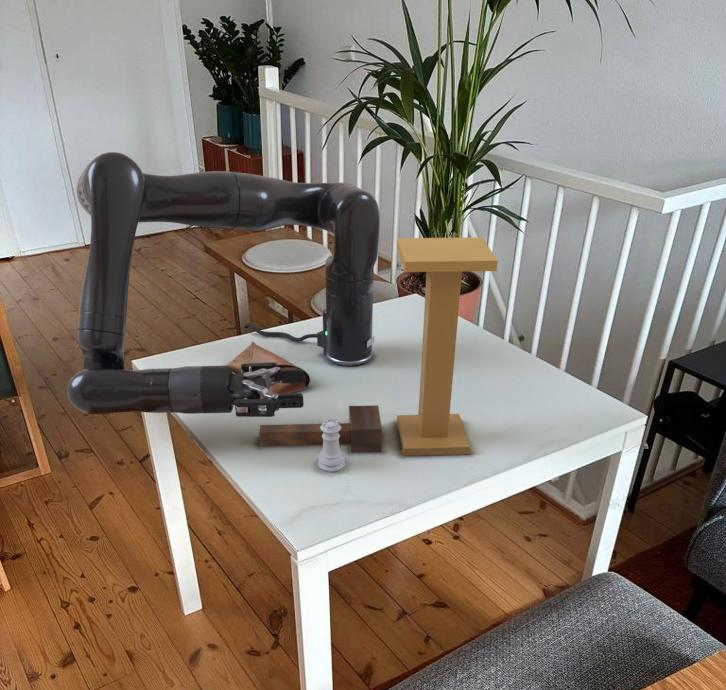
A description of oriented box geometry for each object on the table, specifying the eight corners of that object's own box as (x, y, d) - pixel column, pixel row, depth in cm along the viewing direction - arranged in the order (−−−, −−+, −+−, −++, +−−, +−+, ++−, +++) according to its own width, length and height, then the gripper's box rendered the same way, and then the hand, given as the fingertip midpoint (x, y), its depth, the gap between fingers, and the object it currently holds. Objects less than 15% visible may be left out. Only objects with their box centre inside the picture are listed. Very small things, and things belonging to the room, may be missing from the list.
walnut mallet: (377, 427, 127) (378, 405, 125) (381, 452, 121) (381, 428, 118) (261, 430, 126) (260, 407, 124) (259, 455, 120) (257, 431, 117)
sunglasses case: (220, 366, 146) (232, 334, 144) (246, 373, 151) (258, 342, 150) (275, 398, 135) (289, 364, 134) (302, 404, 140) (315, 372, 139)
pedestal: (464, 420, 130) (482, 237, 111) (475, 454, 121) (497, 260, 102) (390, 422, 129) (397, 238, 111) (397, 456, 120) (405, 261, 102)
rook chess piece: (317, 458, 119) (315, 415, 115) (344, 457, 119) (344, 414, 115) (318, 473, 115) (316, 429, 111) (346, 472, 116) (346, 428, 111)
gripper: (193, 389, 109) (302, 387, 110) (204, 349, 121) (303, 347, 122) (199, 433, 113) (304, 430, 114) (209, 390, 125) (304, 388, 126)
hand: (303, 387), depth 118 cm, fingers open, 8 cm apart
